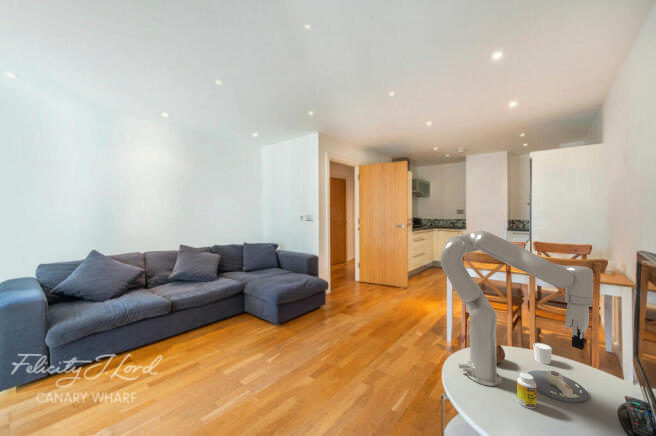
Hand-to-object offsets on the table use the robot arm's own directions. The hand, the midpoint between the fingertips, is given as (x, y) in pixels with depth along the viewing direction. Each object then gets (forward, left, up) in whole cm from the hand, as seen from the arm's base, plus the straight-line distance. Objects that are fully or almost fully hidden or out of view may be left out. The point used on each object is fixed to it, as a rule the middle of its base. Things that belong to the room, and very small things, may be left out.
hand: (577, 347), depth 99 cm
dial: (-6, +3, -18) cm, 19 cm away
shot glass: (-1, +23, -18) cm, 29 cm away
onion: (-23, +18, -18) cm, 34 cm away
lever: (-6, 0, -16) cm, 17 cm away
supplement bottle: (-21, -10, -18) cm, 29 cm away
